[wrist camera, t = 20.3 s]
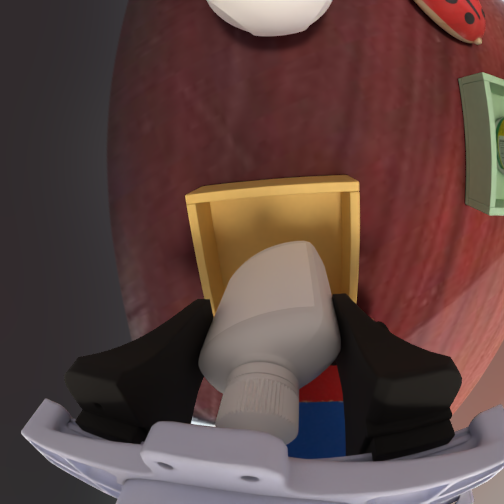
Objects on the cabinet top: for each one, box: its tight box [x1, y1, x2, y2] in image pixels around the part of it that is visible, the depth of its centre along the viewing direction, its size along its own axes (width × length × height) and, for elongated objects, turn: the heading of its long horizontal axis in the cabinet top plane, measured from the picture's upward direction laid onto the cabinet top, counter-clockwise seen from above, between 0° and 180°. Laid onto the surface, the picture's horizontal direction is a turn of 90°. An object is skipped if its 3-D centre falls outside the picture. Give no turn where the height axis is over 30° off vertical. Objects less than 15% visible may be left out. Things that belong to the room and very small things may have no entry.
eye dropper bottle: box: [198, 241, 341, 445], centre depth 11 cm, size 4×6×12 cm
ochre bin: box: [185, 175, 360, 317], centre depth 19 cm, size 10×10×4 cm
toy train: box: [286, 319, 389, 459], centre depth 15 cm, size 9×20×15 cm, turn 1°
